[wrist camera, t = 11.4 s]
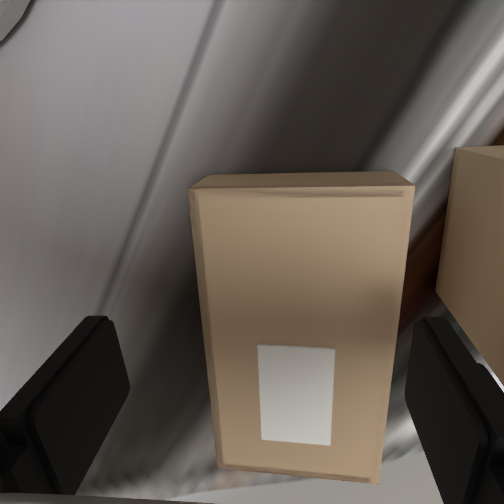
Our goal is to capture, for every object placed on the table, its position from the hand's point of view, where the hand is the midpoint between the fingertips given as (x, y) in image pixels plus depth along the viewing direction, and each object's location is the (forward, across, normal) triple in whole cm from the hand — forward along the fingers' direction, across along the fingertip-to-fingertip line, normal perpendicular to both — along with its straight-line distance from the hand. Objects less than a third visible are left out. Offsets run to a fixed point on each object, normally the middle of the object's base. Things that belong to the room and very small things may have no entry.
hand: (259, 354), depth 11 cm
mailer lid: (+5, -1, +2) cm, 6 cm away
